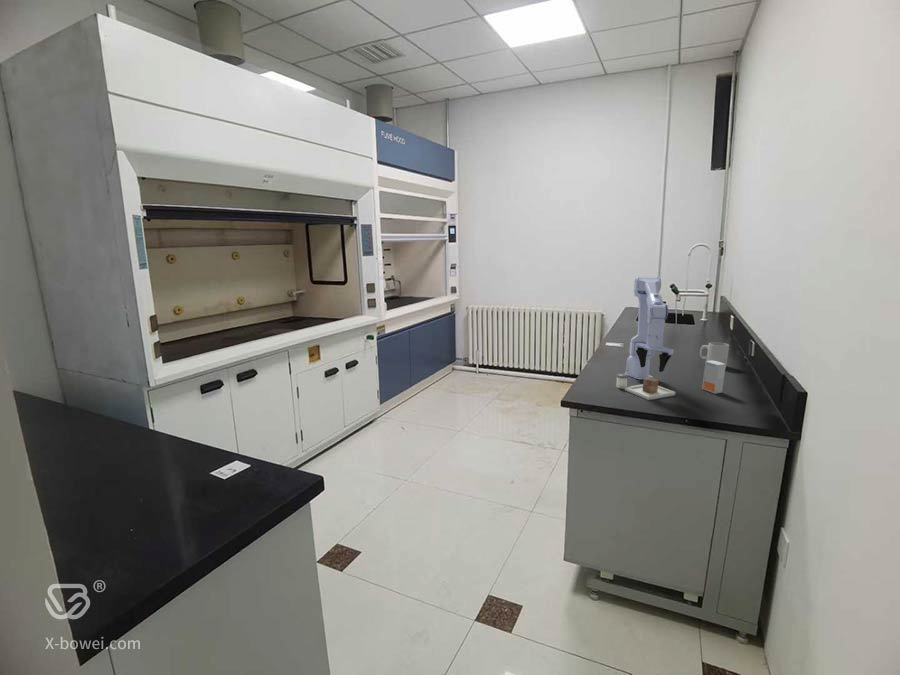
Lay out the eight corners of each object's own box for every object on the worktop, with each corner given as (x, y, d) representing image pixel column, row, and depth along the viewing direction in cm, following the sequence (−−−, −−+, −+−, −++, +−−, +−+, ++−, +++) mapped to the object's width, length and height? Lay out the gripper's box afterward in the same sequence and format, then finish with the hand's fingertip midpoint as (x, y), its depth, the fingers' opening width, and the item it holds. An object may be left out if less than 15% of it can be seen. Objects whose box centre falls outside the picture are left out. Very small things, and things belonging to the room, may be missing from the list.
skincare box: (701, 389, 181) (704, 360, 179) (709, 388, 183) (712, 359, 180) (714, 394, 176) (718, 364, 173) (722, 392, 177) (726, 363, 175)
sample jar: (613, 386, 185) (614, 374, 184) (621, 385, 187) (622, 373, 186) (621, 389, 181) (622, 377, 180) (629, 387, 183) (630, 375, 182)
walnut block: (642, 391, 177) (643, 379, 176) (647, 389, 180) (648, 377, 179) (652, 393, 174) (653, 381, 173) (657, 391, 177) (658, 379, 176)
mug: (728, 366, 214) (731, 343, 212) (723, 369, 208) (726, 346, 206) (700, 361, 222) (703, 340, 220) (695, 364, 216) (698, 342, 214)
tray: (624, 390, 180) (625, 387, 180) (650, 386, 185) (651, 383, 185) (648, 400, 169) (648, 396, 169) (675, 395, 174) (675, 391, 174)
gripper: (632, 333, 175) (629, 366, 178) (668, 340, 164) (664, 375, 167) (641, 331, 179) (638, 363, 182) (677, 337, 168) (674, 371, 171)
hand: (651, 369), depth 175 cm, fingers open, 7 cm apart
